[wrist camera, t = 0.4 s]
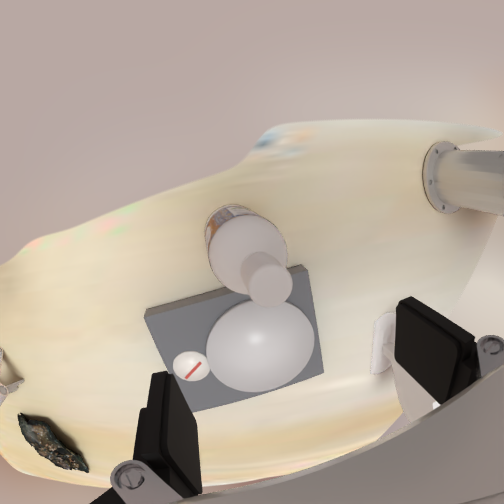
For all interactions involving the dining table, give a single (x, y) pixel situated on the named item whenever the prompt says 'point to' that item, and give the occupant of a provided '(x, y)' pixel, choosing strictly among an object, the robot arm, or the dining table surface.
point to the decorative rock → (50, 445)
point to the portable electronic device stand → (2, 391)
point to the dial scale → (237, 343)
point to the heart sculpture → (398, 370)
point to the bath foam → (248, 255)
